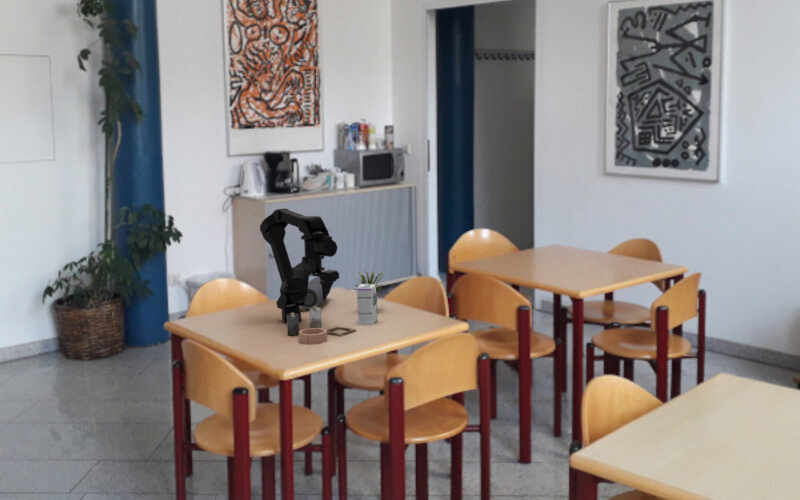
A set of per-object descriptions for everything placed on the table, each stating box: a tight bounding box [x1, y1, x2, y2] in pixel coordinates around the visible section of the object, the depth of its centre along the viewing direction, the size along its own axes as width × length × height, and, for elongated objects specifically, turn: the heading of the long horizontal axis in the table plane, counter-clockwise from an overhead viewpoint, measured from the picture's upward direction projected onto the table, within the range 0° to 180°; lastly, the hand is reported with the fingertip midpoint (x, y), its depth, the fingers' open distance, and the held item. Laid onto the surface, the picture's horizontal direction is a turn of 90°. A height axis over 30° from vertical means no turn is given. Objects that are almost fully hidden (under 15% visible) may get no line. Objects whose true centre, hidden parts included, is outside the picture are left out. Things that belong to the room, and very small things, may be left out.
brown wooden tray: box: [326, 326, 357, 338], centre depth 307 cm, size 8×8×2 cm
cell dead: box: [286, 313, 300, 337], centre depth 304 cm, size 4×4×8 cm
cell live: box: [308, 306, 323, 328], centre depth 313 cm, size 4×4×8 cm
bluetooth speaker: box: [300, 276, 332, 310], centre depth 352 cm, size 23×9×10 cm, turn 172°
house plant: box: [353, 270, 386, 301], centre depth 339 cm, size 14×14×16 cm
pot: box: [298, 327, 328, 345], centre depth 297 cm, size 9×9×4 cm
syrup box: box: [356, 283, 378, 326], centre depth 319 cm, size 6×6×14 cm
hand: (314, 297), depth 312 cm, fingers open, 9 cm apart
